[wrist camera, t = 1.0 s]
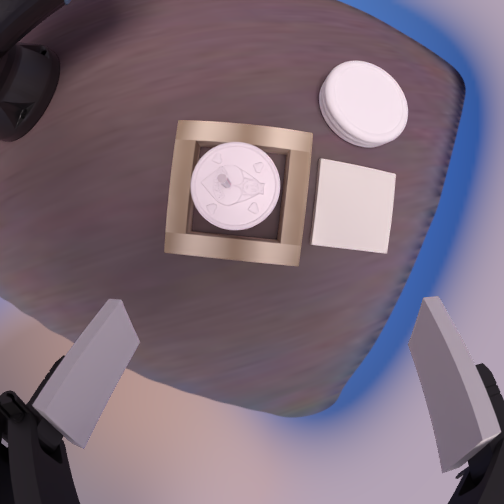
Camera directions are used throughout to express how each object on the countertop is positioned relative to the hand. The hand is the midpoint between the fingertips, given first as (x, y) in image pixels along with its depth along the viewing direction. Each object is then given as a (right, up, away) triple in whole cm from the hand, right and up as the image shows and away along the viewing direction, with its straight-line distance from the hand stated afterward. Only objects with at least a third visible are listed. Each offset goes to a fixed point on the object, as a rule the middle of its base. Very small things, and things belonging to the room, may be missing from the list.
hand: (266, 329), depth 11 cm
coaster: (+12, +20, +17) cm, 28 cm away
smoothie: (-2, +9, +18) cm, 20 cm away
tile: (+10, +8, +18) cm, 22 cm away
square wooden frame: (-2, +9, +17) cm, 20 cm away
